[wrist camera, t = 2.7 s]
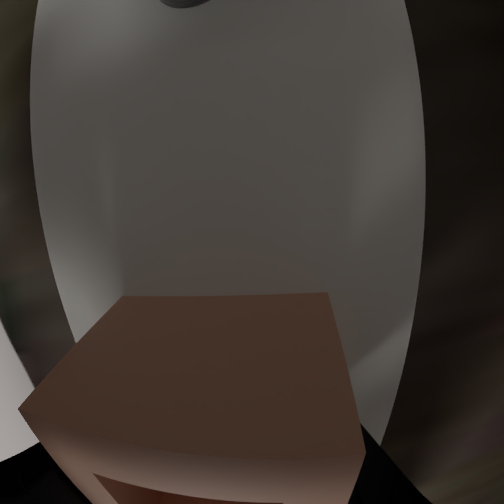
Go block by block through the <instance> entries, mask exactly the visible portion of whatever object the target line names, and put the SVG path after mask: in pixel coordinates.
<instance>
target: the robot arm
mask: <svg viewBox="0 0 504 504" xmlns="http://www.w3.org/2000/svg"><path fill="white" fill-rule="evenodd" d="M360 425H361V430H362V435H363V440H364V445H365V450H366V454H365V458H364V461H363V464H362V466H361V469H360V472H359V475H358V478H357V481H356V483H355V486H354V489H353V491H352V494H351V496H350V499H349V501H348V504H432V503H431V502H430V501H429V500H428V499H427V498H425V497H424V496H423V495H422V494H421V493H420V492H419V491H418V490H417V488H416V487H415V486H414V485H413V484H412V483H411V482H410V481H409V480H408V478H407V477H406V476H405V475H402V474H403V473H402V472H401V470H400V469H399V468H398V467H397V466H396V464H395V463H394V462H393V461H392V460H391V459H390V457H389V456H388V455H387V454H386V453H385V451H384V450H383V449H382V448H381V447H380V446H379V444H378V443H377V442H376V441H375V440H374V438H373V437H372V436H371V435H370V434H369V432H368V431H367V430H366V429H365V428H364V426H363V425H362V424H361V423H360ZM0 504H93V503H92V502H91V501H90V500H89V499H88V498H87V497H86V496H85V495H84V494H83V493H82V492H81V491H80V490H79V489H78V488H77V487H76V485H75V484H74V483H73V482H72V481H71V480H70V479H69V478H68V476H67V475H66V474H65V473H64V472H63V470H62V469H61V468H60V467H59V466H58V464H57V463H56V462H55V461H54V459H53V458H52V457H51V456H50V454H49V453H48V452H47V450H46V449H45V448H44V446H43V445H42V444H41V442H39V443H37V444H35V445H34V446H32V447H30V448H28V449H26V450H25V451H23V452H21V453H19V454H17V455H15V456H12V457H11V458H8V459H6V460H4V461H2V462H0Z"/></svg>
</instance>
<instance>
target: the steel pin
mask: <svg viewBox="0 0 504 504" xmlns="http://www.w3.org/2000/svg"><path fill="white" fill-rule="evenodd" d="M160 1H161V2H162V3H163V4H165V5H167V6H169V7H172V8H191V7H195V6H198V5H201V4H204V3H206V2H208V1H210V0H160Z"/></svg>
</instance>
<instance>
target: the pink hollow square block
mask: <svg viewBox="0 0 504 504" xmlns="http://www.w3.org/2000/svg"><path fill="white" fill-rule="evenodd" d="M18 410H19V411H20V413H21V415H22V416H23V418H24V419H25V421H26V422H27V424H28V425H29V427H30V428H31V430H32V431H33V433H34V434H35V435H36V437H37V438H38V440H39V441H40V442H41V444H42V445H43V446H44V448H45V449H46V450H47V452H48V453H49V454H50V456H51V457H52V458H53V459H54V461H55V462H56V463H57V464H58V466H59V467H60V468H61V469H62V470H63V472H64V473H65V474H66V475H67V476H68V478H69V479H70V480H71V481H72V482H73V483H74V484H75V485H76V487H77V488H78V489H79V490H80V491H81V492H82V493H83V494H84V495H85V496H86V497H87V498H88V499H89V500H90V501H91V502H92V503H93V504H348V501H349V499H350V496H351V494H352V491H353V489H354V486H355V483H356V481H357V478H358V475H359V472H360V469H361V466H362V464H363V461H364V458H365V454H366V450H365V445H364V440H363V435H362V430H361V425H360V421H359V416H358V411H357V407H356V402H355V398H354V393H353V389H352V385H351V381H350V376H349V372H348V368H347V364H346V360H345V356H344V352H343V348H342V344H341V340H340V336H339V332H338V329H337V325H336V321H335V317H334V314H333V310H332V306H331V303H330V299H329V296H328V292H320V293H299V294H273V295H238V296H122V297H121V298H120V299H119V300H118V301H117V302H116V303H115V304H114V305H113V306H112V307H111V308H110V309H109V310H108V311H107V312H106V313H105V314H104V315H103V316H102V317H101V318H100V319H99V320H98V321H97V322H96V323H95V324H94V325H93V326H92V327H91V328H90V329H89V330H88V332H87V333H86V334H85V335H84V336H83V337H82V338H81V339H80V340H79V341H78V342H77V343H76V344H75V345H74V346H73V347H72V348H71V350H70V351H69V352H68V353H67V354H66V355H65V356H64V357H63V358H62V359H61V360H60V361H59V363H58V364H57V365H56V366H55V367H54V368H53V369H52V370H51V371H50V373H49V374H48V375H47V376H46V377H45V378H44V379H43V380H42V381H41V383H40V384H39V385H38V386H37V387H36V388H35V389H34V391H33V392H32V393H31V394H30V395H29V396H28V398H27V399H26V400H25V401H24V402H23V403H22V405H21V406H20V407H19V408H18Z"/></svg>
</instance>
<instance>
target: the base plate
mask: <svg viewBox="0 0 504 504" xmlns="http://www.w3.org/2000/svg"><path fill="white" fill-rule="evenodd" d="M30 124H31V142H32V155H33V165H34V174H35V182H36V190H37V196H38V203H39V209H40V215H41V220H42V225H43V230H44V235H45V240H46V244H47V249H48V253H49V257H50V261H51V265H52V269H53V273H54V277H55V280H56V284H57V287H58V291H59V294H60V297H61V301H62V304H63V307H64V310H65V313H66V316H67V319H68V322H69V325H70V328H71V331H72V333H73V336H74V339H75V342H76V343H77V342H78V341H79V340H80V339H81V338H82V337H83V336H84V335H85V334H86V333H87V332H88V330H89V329H90V328H91V327H92V326H93V325H94V324H95V323H96V322H97V321H98V320H99V319H100V318H101V317H102V316H103V315H104V314H105V313H106V312H107V311H108V310H109V309H110V308H111V307H112V306H113V305H114V304H115V303H116V302H117V301H118V300H119V299H120V298H121V297H122V296H238V295H273V294H299V293H320V292H328V296H329V299H330V303H331V306H332V310H333V314H334V317H335V321H336V325H337V329H338V332H339V336H340V340H341V344H342V348H343V352H344V356H345V360H346V364H347V368H348V372H349V376H350V381H351V385H352V389H353V393H354V398H355V402H356V407H357V411H358V416H359V421H360V423H361V424H362V425H363V426H364V428H365V429H366V430H367V431H368V432H369V434H370V435H371V436H372V437H373V438H374V440H375V441H376V442H377V443H378V444H379V446H380V445H381V442H382V439H383V436H384V433H385V430H386V427H387V424H388V421H389V418H390V415H391V411H392V408H393V405H394V401H395V398H396V394H397V390H398V387H399V383H400V379H401V375H402V371H403V367H404V362H405V358H406V353H407V349H408V344H409V339H410V334H411V329H412V323H413V318H414V312H415V306H416V299H417V292H418V285H419V277H420V269H421V259H422V249H423V236H424V220H425V191H426V164H425V136H424V120H423V108H422V98H421V89H420V81H419V73H418V66H417V60H416V54H415V48H414V42H413V37H412V32H411V27H410V23H409V18H408V14H407V10H406V6H405V2H404V0H210V1H208V2H206V3H204V4H201V5H198V6H195V7H191V8H172V7H169V6H167V5H165V4H163V3H162V2H161V1H160V0H38V6H37V12H36V19H35V26H34V34H33V44H32V56H31V73H30Z"/></svg>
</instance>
